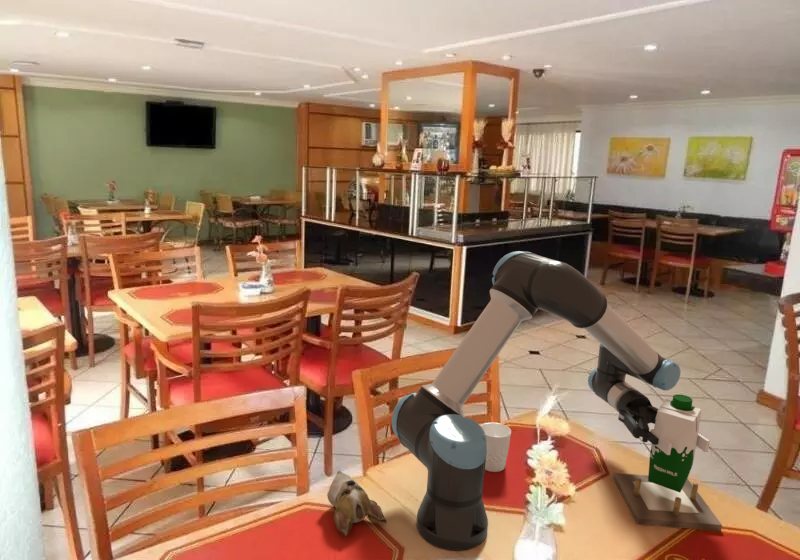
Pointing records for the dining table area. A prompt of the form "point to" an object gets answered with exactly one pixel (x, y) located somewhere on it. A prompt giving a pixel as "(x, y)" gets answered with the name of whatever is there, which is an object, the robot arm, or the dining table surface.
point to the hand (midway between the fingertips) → (688, 447)
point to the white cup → (496, 445)
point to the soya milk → (675, 442)
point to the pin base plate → (665, 504)
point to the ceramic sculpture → (351, 503)
